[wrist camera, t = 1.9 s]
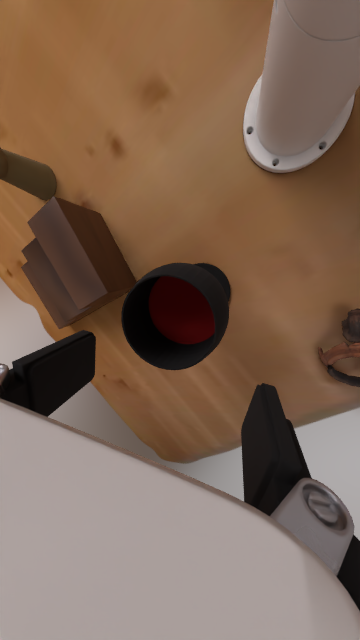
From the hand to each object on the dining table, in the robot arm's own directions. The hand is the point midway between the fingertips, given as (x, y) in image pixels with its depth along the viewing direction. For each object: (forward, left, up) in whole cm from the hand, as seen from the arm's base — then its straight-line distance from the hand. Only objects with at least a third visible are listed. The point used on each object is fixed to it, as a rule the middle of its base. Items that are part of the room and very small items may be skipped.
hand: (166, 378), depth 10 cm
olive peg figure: (-10, -38, -26) cm, 48 cm away
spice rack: (+5, -27, -26) cm, 38 cm away
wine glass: (0, -2, -26) cm, 27 cm away
